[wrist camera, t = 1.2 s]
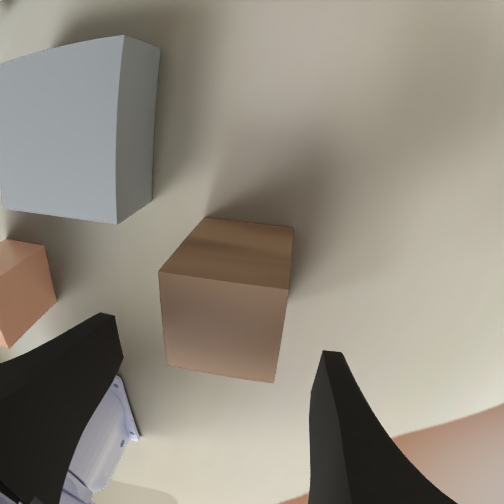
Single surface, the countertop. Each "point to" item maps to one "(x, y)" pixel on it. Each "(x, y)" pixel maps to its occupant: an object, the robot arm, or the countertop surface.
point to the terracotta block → (23, 288)
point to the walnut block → (227, 298)
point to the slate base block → (79, 129)
